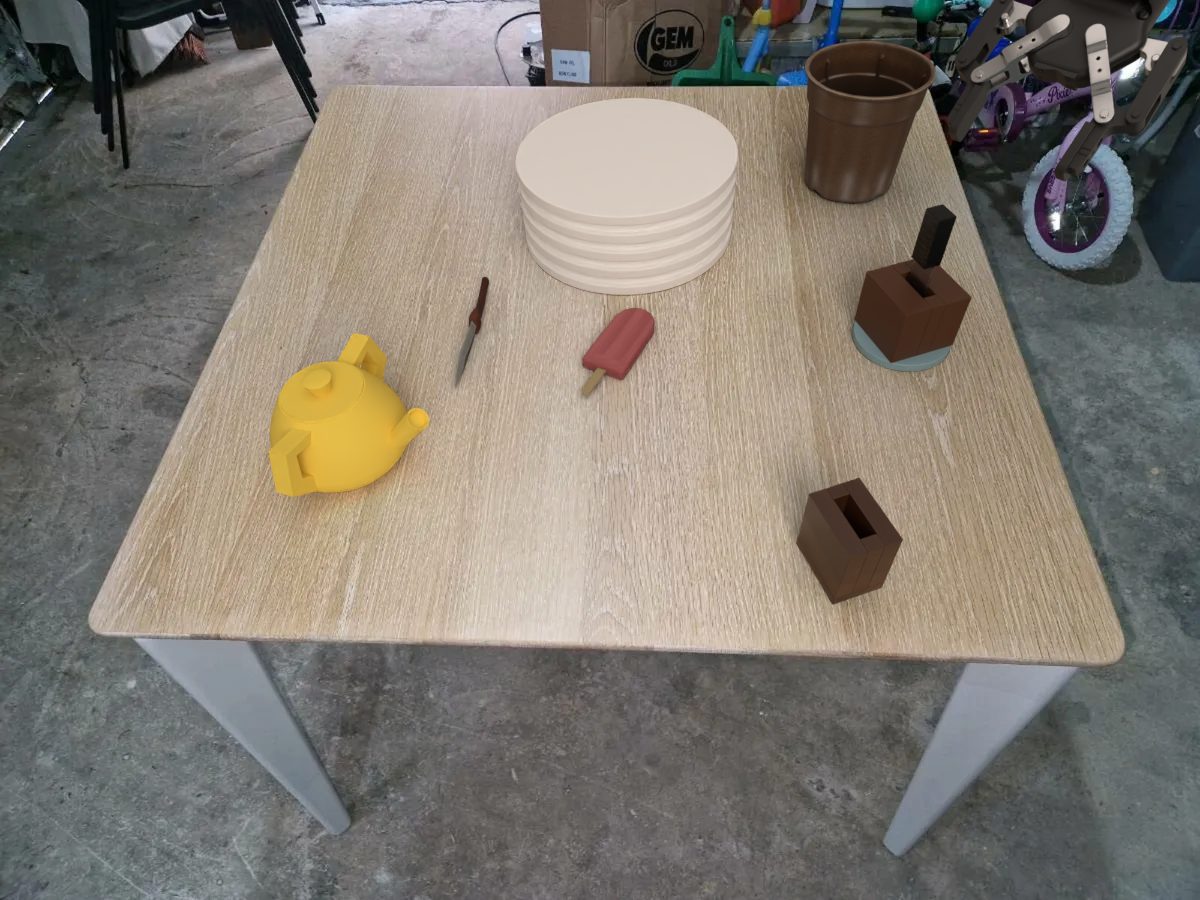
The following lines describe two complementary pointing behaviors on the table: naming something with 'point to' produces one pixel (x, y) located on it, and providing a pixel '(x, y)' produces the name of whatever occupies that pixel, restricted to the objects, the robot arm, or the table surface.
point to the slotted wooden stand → (908, 318)
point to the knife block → (847, 540)
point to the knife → (472, 329)
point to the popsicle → (618, 346)
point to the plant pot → (861, 115)
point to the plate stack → (627, 194)
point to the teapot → (339, 424)
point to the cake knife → (930, 246)
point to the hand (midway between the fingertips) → (1004, 156)
